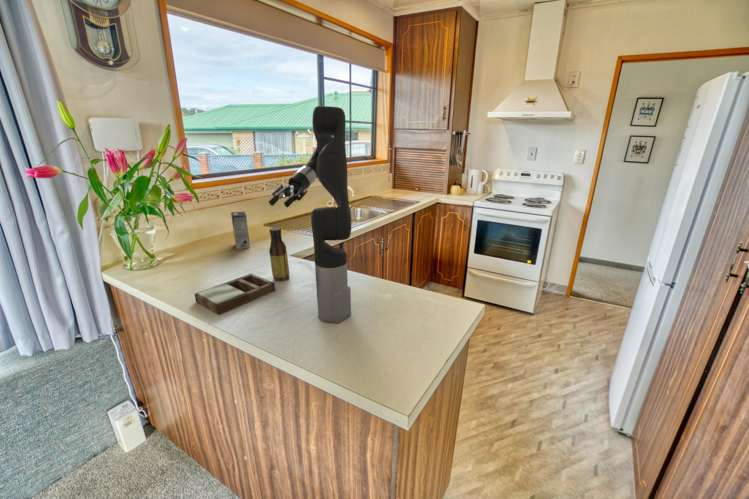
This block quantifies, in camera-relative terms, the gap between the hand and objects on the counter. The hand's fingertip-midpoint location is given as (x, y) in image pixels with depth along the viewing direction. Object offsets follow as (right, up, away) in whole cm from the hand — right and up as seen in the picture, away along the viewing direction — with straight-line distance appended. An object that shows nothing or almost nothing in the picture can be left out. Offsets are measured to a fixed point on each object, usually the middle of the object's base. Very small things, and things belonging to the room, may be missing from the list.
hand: (277, 204), depth 129 cm
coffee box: (-28, -15, +39) cm, 50 cm away
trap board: (-10, -33, -12) cm, 37 cm away
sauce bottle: (+1, -28, +2) cm, 28 cm away
